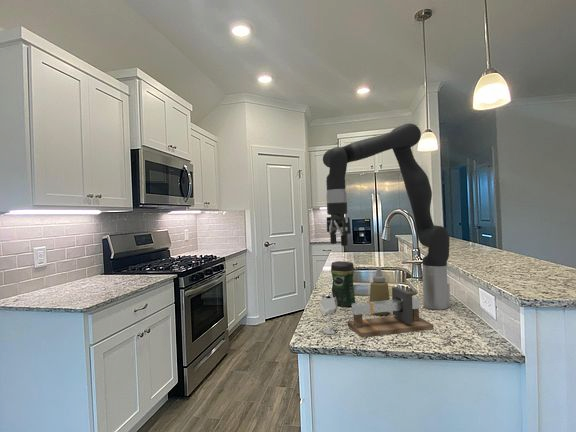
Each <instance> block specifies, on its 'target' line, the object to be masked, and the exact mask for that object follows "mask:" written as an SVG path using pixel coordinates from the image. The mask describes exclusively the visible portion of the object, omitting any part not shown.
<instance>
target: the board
mask: <svg viewBox="0 0 576 432" xmlns="http://www.w3.org/2000/svg"><path fill="white" fill-rule="evenodd" d="M352 315H353V319H352V320H347V326H348V327H349V328H350V329H351V330H352V331H353V332H355V334H357V335H358V336H359V337H360V338H369V337H376V336H377V337H378V336H385V335H394V334H402V333H414V332H419V331H421V332H423V331H429V330H434V329H435V328H434V324H433V323H431V322H429V321H427V320H425V319H424V318H422V317H420V308H418V309H413V323H408V324H407V323H406V322H404V321H402V320H401V319H399V318H397V317H396V316H394V315H392V316H391V315H390V316H386V317H385V316H384V317H376V318H375V317H374V318H365V319H364V318H363V314H359V315H355V314H354V313H352Z"/></svg>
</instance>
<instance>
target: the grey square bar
mask: <svg viewBox="0 0 576 432" xmlns="http://www.w3.org/2000/svg"><path fill="white" fill-rule="evenodd" d="M412 305H413V309H418V308H419V309H421V300H420V298H417V297H412ZM398 310H403V300H402V299H395V300H392V299H390V300H384V301H374V302H370V300H367V301H366V302H355V303H353V304H352V306H351V313H352V314H353V313H354V314H355V315H359V314H362V315H368V314H370V315H375V314H374V313H379V312H388V313H389V312H393V311H398Z"/></svg>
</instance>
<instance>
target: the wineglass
mask: <svg viewBox="0 0 576 432" xmlns="http://www.w3.org/2000/svg"><path fill="white" fill-rule="evenodd" d="M319 305H320V311H321V313H322V314H324V315H325V316H328V317H327V321H328V328H327V329H326V328H325V329H324V330H323V331H322V332H323V333H324V334H328V335H333V334H336V333H337V330H336V329H334V328H332V327H331V319H332V316H334V315H335V314H336V313H337V312H338V308H339V307H338V305H337V300H336V296H334V295H332V294H325V295H322V296H321V299H320V304H319Z"/></svg>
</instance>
